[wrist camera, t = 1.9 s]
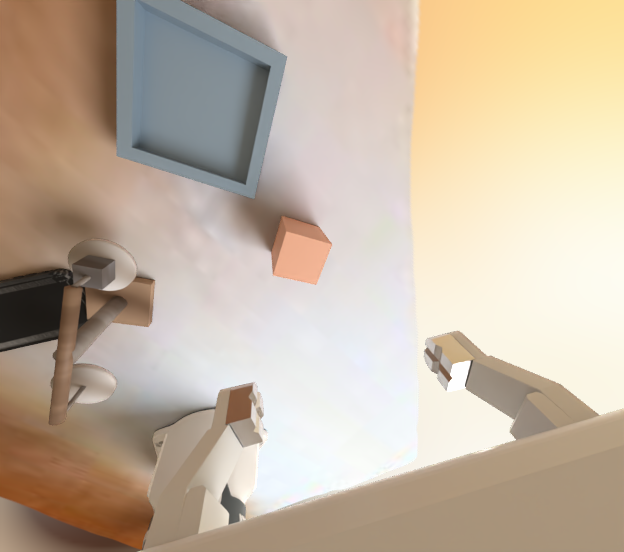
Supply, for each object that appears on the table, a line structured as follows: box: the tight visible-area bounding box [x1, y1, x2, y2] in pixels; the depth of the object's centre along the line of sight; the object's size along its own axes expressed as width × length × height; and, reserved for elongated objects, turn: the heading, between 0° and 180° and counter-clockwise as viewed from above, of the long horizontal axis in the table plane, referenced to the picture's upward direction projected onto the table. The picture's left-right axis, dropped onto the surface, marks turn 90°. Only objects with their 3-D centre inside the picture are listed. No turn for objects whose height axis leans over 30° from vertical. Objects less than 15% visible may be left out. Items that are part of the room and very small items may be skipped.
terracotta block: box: [271, 216, 332, 285], centre depth 25 cm, size 4×4×6 cm
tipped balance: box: [49, 239, 155, 425], centre depth 22 cm, size 17×6×11 cm, turn 160°
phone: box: [0, 269, 89, 352], centre depth 25 cm, size 8×1×15 cm
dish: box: [117, 0, 287, 199], centre depth 19 cm, size 11×11×2 cm
